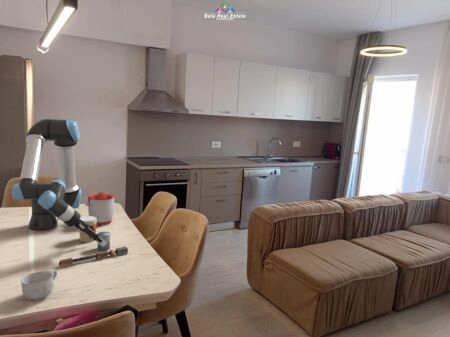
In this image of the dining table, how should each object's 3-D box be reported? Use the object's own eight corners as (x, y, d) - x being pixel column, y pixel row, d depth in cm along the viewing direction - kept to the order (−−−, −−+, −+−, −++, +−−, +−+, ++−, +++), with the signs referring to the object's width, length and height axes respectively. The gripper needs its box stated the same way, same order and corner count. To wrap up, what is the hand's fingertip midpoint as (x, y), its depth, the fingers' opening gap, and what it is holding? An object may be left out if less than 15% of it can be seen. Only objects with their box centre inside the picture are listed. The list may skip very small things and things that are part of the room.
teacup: (31, 307, 124) (31, 286, 123) (15, 297, 130) (14, 277, 129) (67, 291, 136) (66, 272, 135) (50, 283, 142) (50, 264, 140)
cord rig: (58, 266, 156) (58, 259, 156) (125, 251, 176) (125, 246, 176) (60, 268, 154) (59, 262, 154) (127, 253, 174) (127, 248, 173)
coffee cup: (90, 243, 184) (90, 222, 182) (74, 241, 185) (74, 219, 183) (100, 237, 193) (100, 217, 191) (85, 235, 194) (84, 215, 192)
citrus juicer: (83, 220, 219) (83, 189, 216) (112, 217, 227) (112, 188, 224) (86, 228, 206) (86, 195, 203) (116, 225, 214) (116, 193, 210)
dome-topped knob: (95, 247, 179) (95, 232, 178) (107, 245, 183) (107, 230, 182) (99, 251, 174) (99, 236, 173) (112, 249, 178) (112, 234, 177)
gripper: (56, 215, 173) (86, 238, 185) (70, 230, 154) (104, 255, 166) (67, 203, 175) (96, 227, 187) (83, 216, 156) (115, 242, 168)
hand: (100, 240), depth 177 cm, fingers open, 13 cm apart
